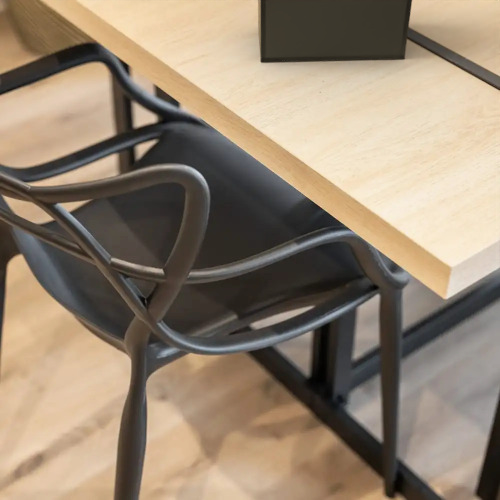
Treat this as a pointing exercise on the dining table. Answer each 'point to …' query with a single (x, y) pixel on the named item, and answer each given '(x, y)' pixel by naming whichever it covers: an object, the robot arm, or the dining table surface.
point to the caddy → (332, 29)
